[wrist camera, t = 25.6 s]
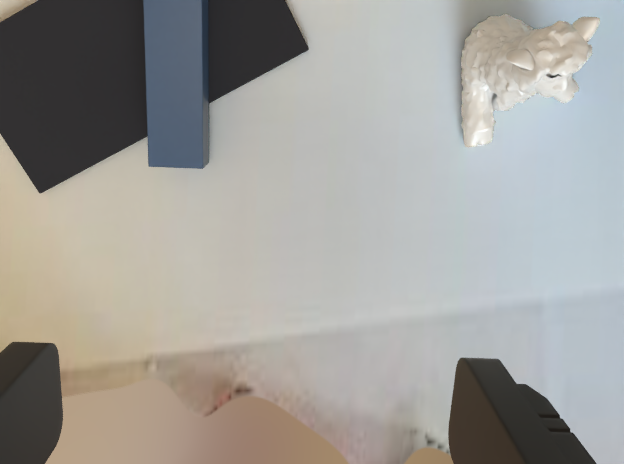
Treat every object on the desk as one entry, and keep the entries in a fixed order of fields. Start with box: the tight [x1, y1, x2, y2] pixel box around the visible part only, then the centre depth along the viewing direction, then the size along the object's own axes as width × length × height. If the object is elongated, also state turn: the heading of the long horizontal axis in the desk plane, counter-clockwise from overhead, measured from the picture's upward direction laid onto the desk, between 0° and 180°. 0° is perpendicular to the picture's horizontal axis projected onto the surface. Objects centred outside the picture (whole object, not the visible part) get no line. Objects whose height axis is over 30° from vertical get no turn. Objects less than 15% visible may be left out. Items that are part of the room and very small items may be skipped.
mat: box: [0, 0, 308, 193], centre depth 44 cm, size 24×12×1 cm, turn 117°
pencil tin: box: [143, 0, 209, 169], centre depth 42 cm, size 16×4×3 cm, turn 178°
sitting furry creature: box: [461, 14, 600, 147], centre depth 40 cm, size 10×9×12 cm
